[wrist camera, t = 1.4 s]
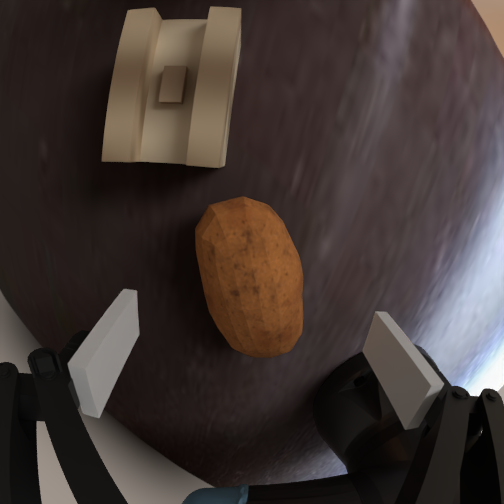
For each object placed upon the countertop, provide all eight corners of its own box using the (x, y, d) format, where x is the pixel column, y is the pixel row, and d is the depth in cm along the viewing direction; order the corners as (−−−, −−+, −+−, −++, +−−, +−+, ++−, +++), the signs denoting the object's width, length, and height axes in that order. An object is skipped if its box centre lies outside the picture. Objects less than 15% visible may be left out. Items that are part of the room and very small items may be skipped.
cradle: (224, 165, 22) (218, 168, 16) (136, 159, 22) (101, 161, 16) (240, 44, 19) (241, 8, 13) (154, 42, 19) (128, 10, 13)
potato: (283, 183, 23) (301, 193, 16) (303, 326, 27) (321, 377, 20) (191, 200, 23) (171, 218, 16) (225, 340, 27) (221, 394, 20)
